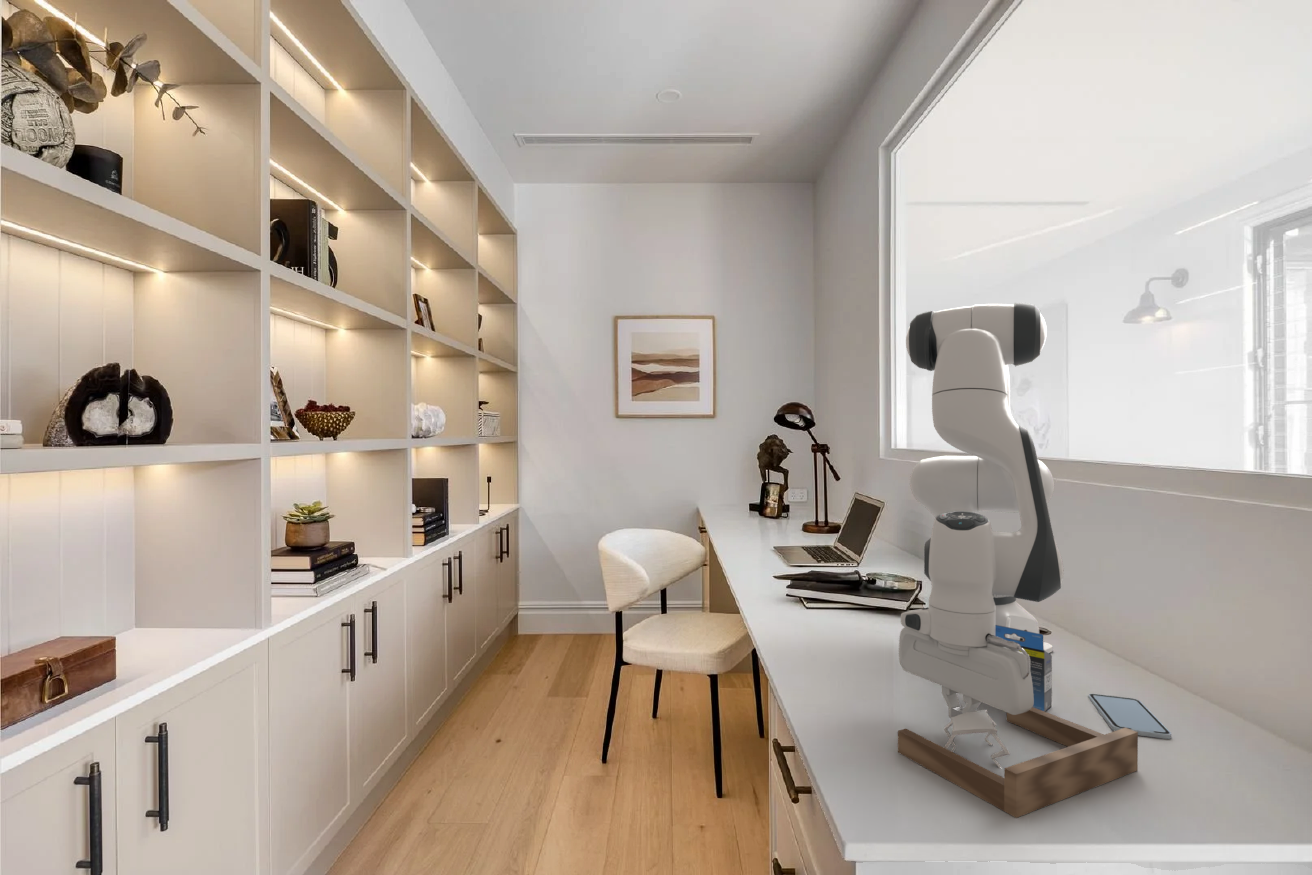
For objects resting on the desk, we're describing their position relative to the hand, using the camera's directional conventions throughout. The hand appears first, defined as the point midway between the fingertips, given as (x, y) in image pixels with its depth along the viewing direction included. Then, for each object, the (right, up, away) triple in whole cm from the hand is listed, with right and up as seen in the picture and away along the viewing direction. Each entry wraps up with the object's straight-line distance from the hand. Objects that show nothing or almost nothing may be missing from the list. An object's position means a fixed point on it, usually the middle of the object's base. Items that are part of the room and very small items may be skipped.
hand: (960, 721), depth 97 cm
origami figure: (0, -2, -6) cm, 6 cm away
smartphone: (+29, -3, +7) cm, 30 cm away
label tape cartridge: (+15, -2, +12) cm, 19 cm away
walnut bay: (+3, -2, -7) cm, 8 cm away
